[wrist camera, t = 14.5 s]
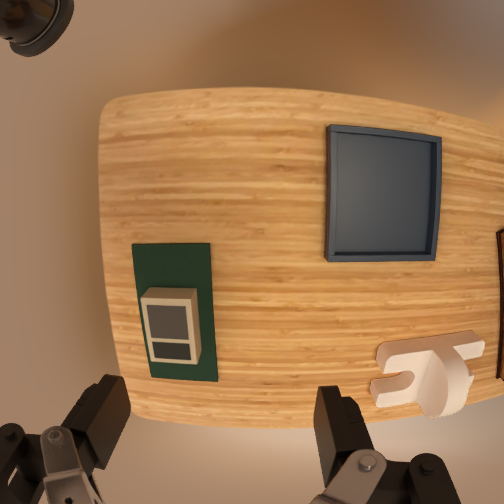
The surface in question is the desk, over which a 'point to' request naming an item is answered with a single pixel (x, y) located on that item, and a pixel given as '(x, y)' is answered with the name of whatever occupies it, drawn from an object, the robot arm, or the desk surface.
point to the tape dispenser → (427, 372)
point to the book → (503, 254)
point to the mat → (180, 276)
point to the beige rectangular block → (172, 324)
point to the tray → (382, 195)
